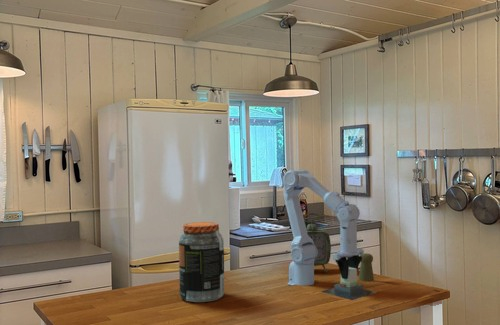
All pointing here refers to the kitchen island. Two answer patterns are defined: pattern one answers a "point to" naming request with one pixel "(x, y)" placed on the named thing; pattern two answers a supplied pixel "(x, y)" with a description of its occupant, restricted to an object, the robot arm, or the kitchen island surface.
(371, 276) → the green pawn
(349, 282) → the pale grey block
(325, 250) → the tabletop clock
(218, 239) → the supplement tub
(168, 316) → the kitchen island surface
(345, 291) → the stand base
